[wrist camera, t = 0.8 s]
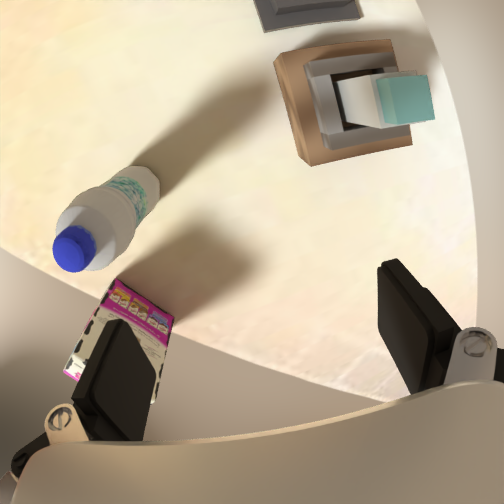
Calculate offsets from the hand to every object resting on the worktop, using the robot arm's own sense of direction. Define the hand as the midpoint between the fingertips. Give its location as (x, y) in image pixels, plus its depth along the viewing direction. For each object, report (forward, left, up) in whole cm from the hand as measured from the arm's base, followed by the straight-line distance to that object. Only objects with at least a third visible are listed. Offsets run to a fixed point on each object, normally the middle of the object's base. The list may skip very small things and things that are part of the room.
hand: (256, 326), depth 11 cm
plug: (-6, +13, -23) cm, 27 cm away
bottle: (-2, -13, -30) cm, 33 cm away
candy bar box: (+15, -21, -30) cm, 40 cm away
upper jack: (-6, +13, -30) cm, 33 cm away
